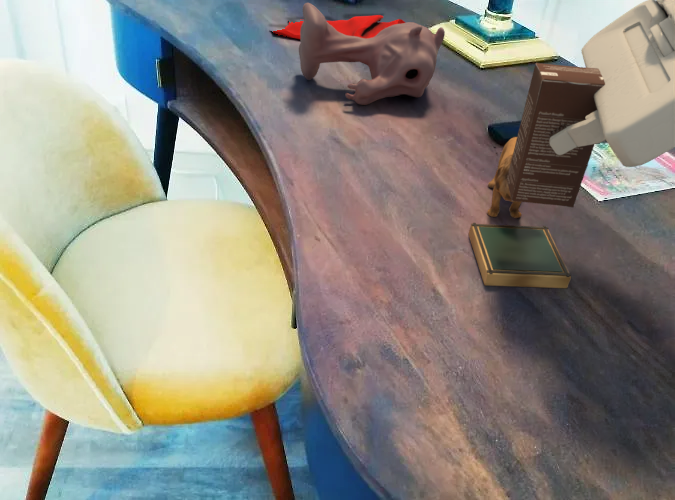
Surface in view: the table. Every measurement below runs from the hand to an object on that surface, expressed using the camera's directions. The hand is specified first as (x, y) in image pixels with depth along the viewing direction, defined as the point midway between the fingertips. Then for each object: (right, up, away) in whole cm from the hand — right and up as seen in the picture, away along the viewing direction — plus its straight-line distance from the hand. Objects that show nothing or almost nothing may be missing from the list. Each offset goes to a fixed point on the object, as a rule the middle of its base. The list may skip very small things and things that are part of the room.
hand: (550, 130), depth 58 cm
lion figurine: (+1, -5, +18) cm, 19 cm away
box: (0, -5, +4) cm, 7 cm away
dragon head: (-15, +13, +40) cm, 45 cm away
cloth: (-18, +28, +58) cm, 67 cm away
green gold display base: (-1, -12, +9) cm, 15 cm away
